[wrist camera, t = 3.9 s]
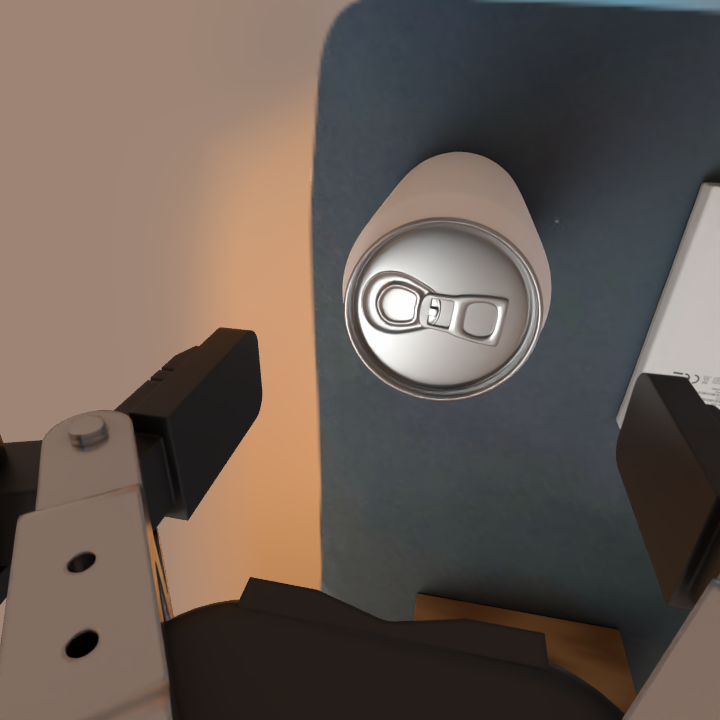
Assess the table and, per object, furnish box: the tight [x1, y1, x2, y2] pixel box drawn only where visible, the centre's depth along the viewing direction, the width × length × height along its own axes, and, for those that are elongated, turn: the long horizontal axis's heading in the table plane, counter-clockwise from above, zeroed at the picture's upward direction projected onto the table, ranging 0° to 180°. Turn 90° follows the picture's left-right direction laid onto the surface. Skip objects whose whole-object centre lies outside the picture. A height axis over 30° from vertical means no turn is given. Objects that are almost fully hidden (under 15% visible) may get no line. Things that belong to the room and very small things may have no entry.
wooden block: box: [413, 593, 637, 714], centre depth 36 cm, size 14×12×8 cm
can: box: [343, 152, 551, 401], centre depth 20 cm, size 6×6×12 cm
